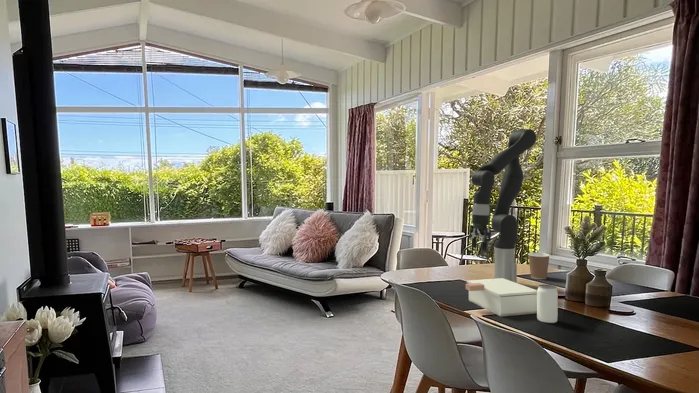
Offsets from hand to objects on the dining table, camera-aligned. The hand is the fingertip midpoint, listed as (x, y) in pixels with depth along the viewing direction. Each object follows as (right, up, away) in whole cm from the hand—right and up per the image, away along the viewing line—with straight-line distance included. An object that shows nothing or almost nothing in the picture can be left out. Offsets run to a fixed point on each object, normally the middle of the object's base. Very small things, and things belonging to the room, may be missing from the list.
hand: (478, 249), depth 192 cm
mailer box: (0, -19, -29) cm, 35 cm away
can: (+10, -19, -46) cm, 51 cm away
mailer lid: (-3, -11, -30) cm, 33 cm away
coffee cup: (+37, -17, +20) cm, 45 cm away
